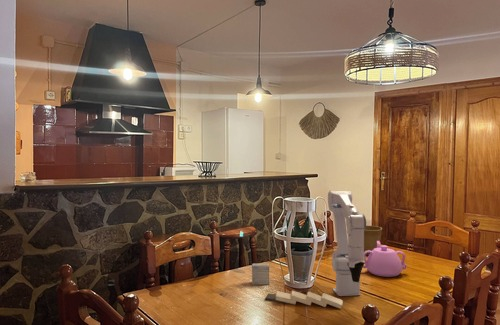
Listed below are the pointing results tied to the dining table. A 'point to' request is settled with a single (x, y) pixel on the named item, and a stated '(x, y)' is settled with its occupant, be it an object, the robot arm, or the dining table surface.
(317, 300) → the domino
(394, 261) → the teapot
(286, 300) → the domino
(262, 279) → the medicine box
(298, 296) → the domino
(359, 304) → the dining table surface
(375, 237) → the plant pot
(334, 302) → the domino
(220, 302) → the dining table surface
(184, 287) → the dining table surface
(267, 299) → the domino
